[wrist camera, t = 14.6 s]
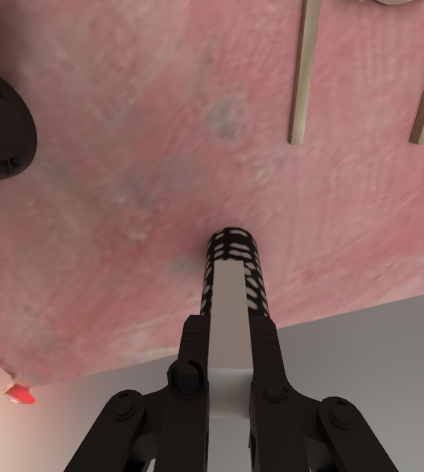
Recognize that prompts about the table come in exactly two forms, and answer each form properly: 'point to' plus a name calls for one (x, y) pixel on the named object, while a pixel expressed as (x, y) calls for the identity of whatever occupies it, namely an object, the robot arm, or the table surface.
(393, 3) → the mug
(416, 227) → the table surface
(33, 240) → the table surface
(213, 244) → the spotted tube
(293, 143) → the guide channel
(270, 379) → the robot arm
